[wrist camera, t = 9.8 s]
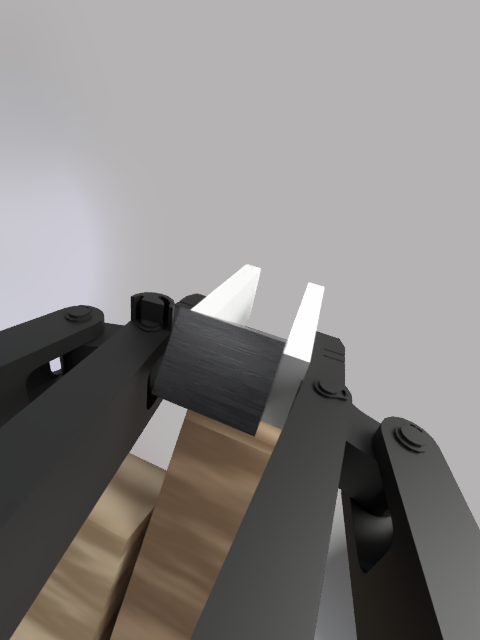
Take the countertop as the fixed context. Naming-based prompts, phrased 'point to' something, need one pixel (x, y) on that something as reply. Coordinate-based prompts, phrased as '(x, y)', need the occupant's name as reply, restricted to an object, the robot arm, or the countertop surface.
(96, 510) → the step
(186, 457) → the wooden block
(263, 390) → the turner
